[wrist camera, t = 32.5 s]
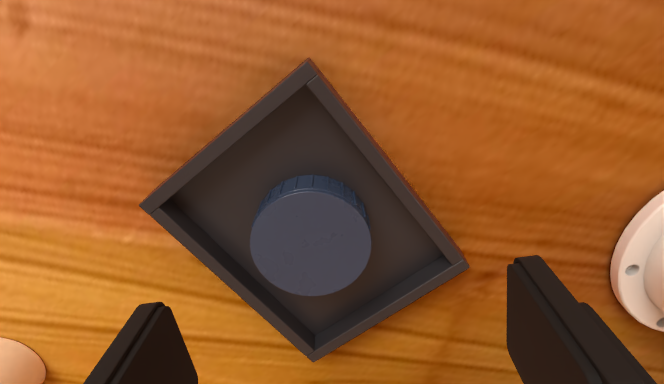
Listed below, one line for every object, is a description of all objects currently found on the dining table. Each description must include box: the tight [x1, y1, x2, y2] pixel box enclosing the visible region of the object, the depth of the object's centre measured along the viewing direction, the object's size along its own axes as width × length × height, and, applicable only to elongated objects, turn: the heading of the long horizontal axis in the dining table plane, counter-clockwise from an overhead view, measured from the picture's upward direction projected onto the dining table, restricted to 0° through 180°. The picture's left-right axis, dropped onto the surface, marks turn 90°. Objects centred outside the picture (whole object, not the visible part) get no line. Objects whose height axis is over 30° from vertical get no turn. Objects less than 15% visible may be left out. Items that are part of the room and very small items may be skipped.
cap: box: [250, 174, 372, 296], centre depth 24 cm, size 7×7×2 cm
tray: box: [139, 58, 469, 362], centre depth 25 cm, size 16×13×2 cm
